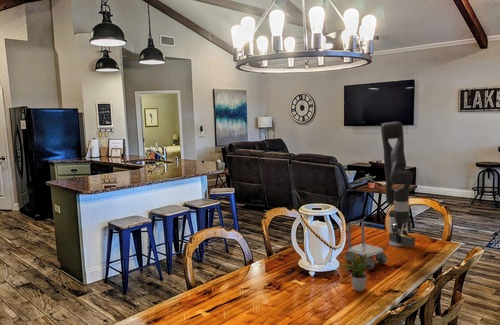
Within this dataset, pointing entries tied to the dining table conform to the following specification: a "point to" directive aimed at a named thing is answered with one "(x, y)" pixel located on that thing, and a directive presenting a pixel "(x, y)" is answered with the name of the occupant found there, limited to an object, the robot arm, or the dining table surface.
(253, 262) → the dining table surface
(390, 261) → the dining table surface
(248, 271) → the dining table surface
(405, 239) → the block
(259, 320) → the dining table surface
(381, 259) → the trolley
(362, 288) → the house plant
